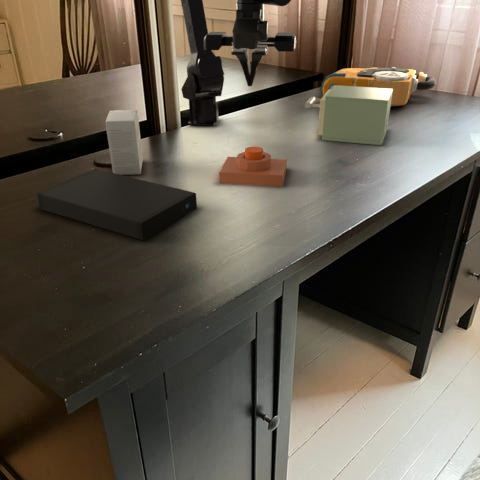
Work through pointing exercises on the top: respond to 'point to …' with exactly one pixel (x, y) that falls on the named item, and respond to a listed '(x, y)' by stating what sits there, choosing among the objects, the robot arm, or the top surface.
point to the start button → (254, 153)
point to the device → (381, 81)
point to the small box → (124, 141)
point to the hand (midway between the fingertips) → (250, 85)
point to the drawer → (321, 112)
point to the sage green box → (356, 114)
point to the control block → (253, 171)
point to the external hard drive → (118, 203)
